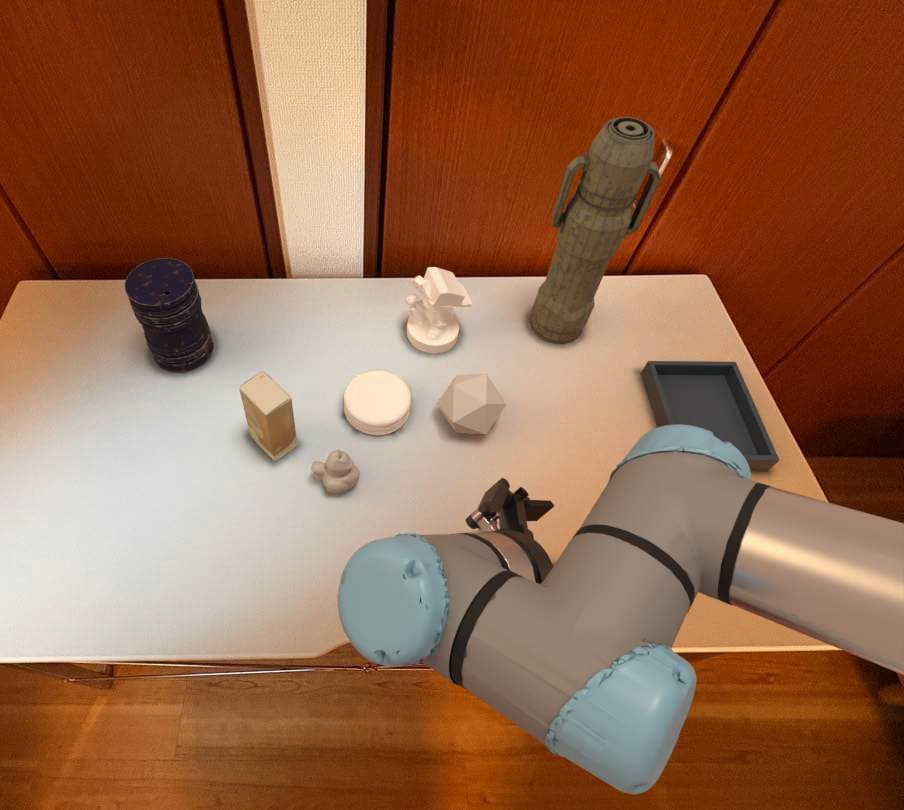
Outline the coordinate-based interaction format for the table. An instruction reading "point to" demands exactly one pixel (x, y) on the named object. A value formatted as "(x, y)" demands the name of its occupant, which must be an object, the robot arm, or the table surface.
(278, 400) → the cosmetic box
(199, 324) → the dark blue cylinder
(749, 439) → the tray
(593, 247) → the thermos
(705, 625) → the table surface
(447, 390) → the die
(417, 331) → the character figurine
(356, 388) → the coaster
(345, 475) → the rubber duck
